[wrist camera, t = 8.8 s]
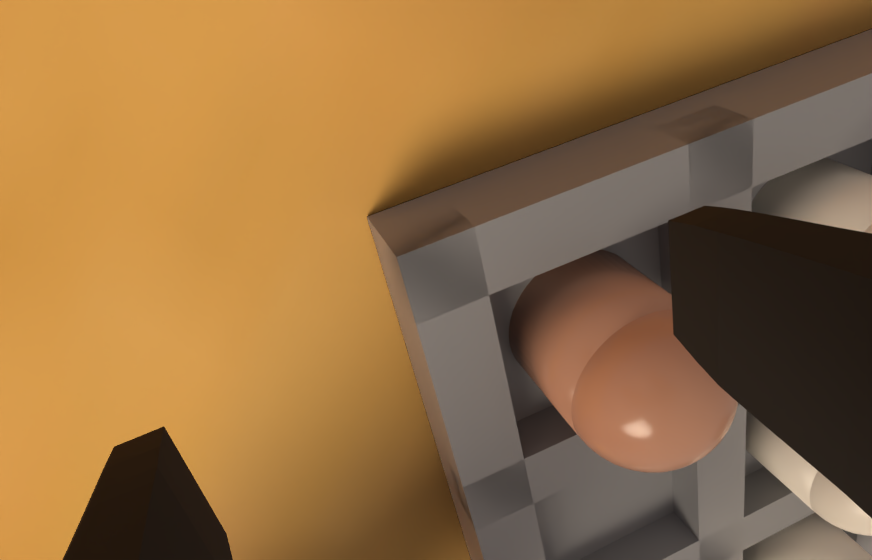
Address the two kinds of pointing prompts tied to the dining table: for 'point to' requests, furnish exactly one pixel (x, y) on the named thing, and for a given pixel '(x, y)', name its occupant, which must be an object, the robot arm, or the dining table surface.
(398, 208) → the egg tray
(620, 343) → the terracotta egg
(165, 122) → the dining table surface
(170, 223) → the dining table surface
